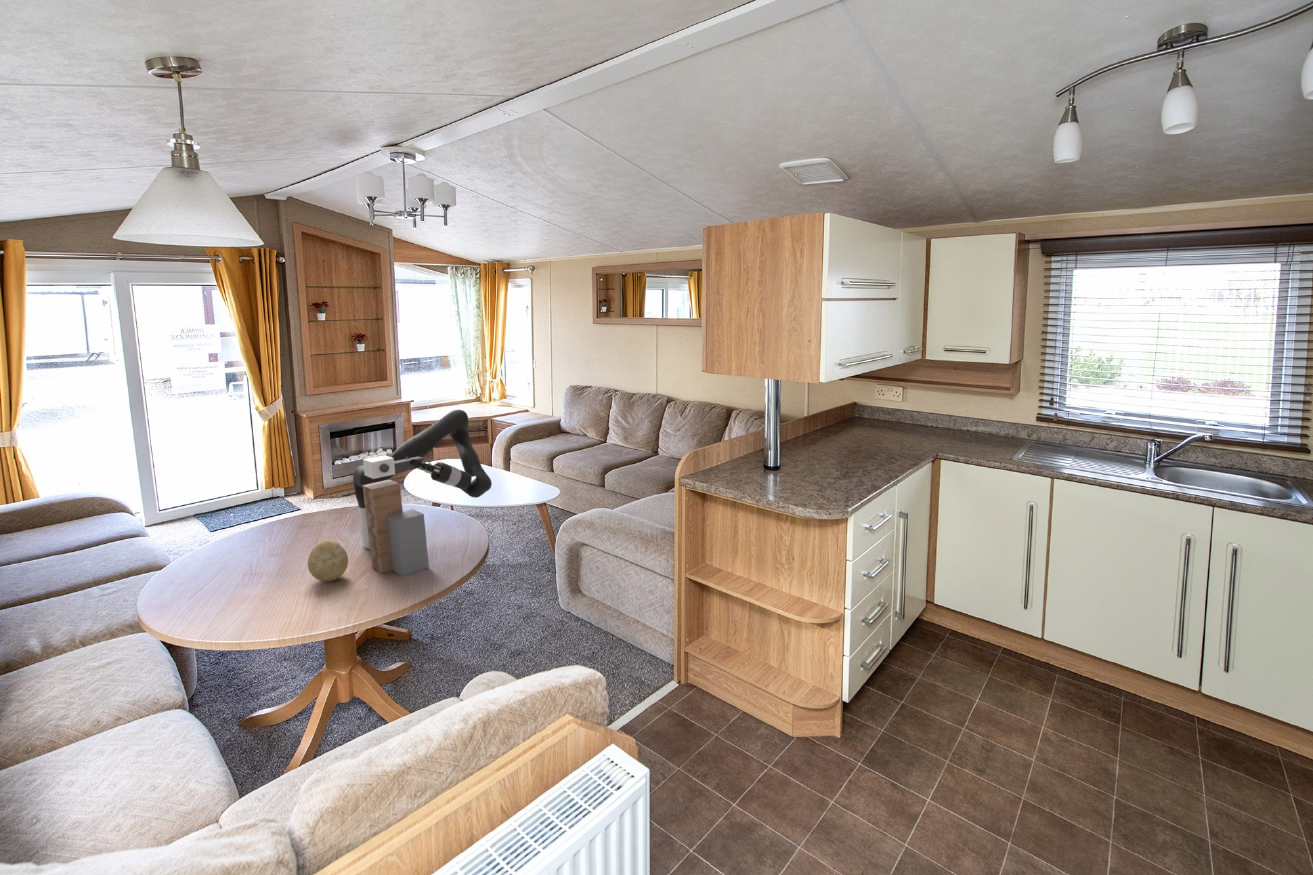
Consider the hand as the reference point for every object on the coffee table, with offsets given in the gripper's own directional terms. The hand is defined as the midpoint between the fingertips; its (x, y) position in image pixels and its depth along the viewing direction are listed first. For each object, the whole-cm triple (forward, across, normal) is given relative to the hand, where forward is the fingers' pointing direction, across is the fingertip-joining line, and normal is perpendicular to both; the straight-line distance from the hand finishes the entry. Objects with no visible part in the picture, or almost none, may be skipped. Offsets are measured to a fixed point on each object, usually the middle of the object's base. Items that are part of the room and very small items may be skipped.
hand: (408, 460), depth 235 cm
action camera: (+3, 0, +5) cm, 6 cm away
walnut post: (-10, 0, +39) cm, 40 cm away
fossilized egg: (+7, -5, +49) cm, 50 cm away
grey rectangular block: (-13, +8, +37) cm, 40 cm away
